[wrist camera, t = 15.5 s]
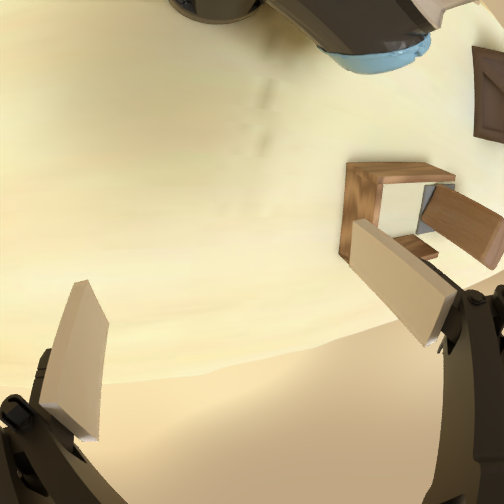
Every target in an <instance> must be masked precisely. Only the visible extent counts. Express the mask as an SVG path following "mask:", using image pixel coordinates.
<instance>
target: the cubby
mask: <svg viewBox="0 0 504 504" xmlns="http://www.w3.org/2000/svg"><path fill="white" fill-rule="evenodd" d="M455 177H456V175H454V174H451V173H449V172H447V171H444V170H442V169H439V168H437V167H435V166H432V165H429V164H427V163H416V162H366V163H347V165H346V182H345V196H344V208H343V219H342V229H341V238H340V247H339V255H340V256H341V257H342V258H343V259H344V260H345V261H346V262H347V263H348V264H349V261H350V251H351V239H352V226H353V221H355V220H360V219H366V220H368V221H369V222H370V223H372V224H373V225H375V226H376V227H378V221H379V214H380V207H381V199H382V191H383V184H395V183H415V182H442V181H455ZM392 239H394V240H395V241H396V242H398V243H399V244H400V245H402V246H403V247H404V248H406V249H407V250H408V251H409V252H411V253H412V254H413V255H415V256H416V257H417V258H419V257H420V258H422V259H424V260H426V261H427V260H430V259H433V258H437V257H438V254H439V252H438V251H436V250H435V249H433V248H432V247H431V246H429V245H428V244H427V243H425V242H424V241H422V240H421V239H419V238H418V237H417V236H415V235H414V234H411V235H406V236H402V237H397V238H392Z"/></svg>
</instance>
